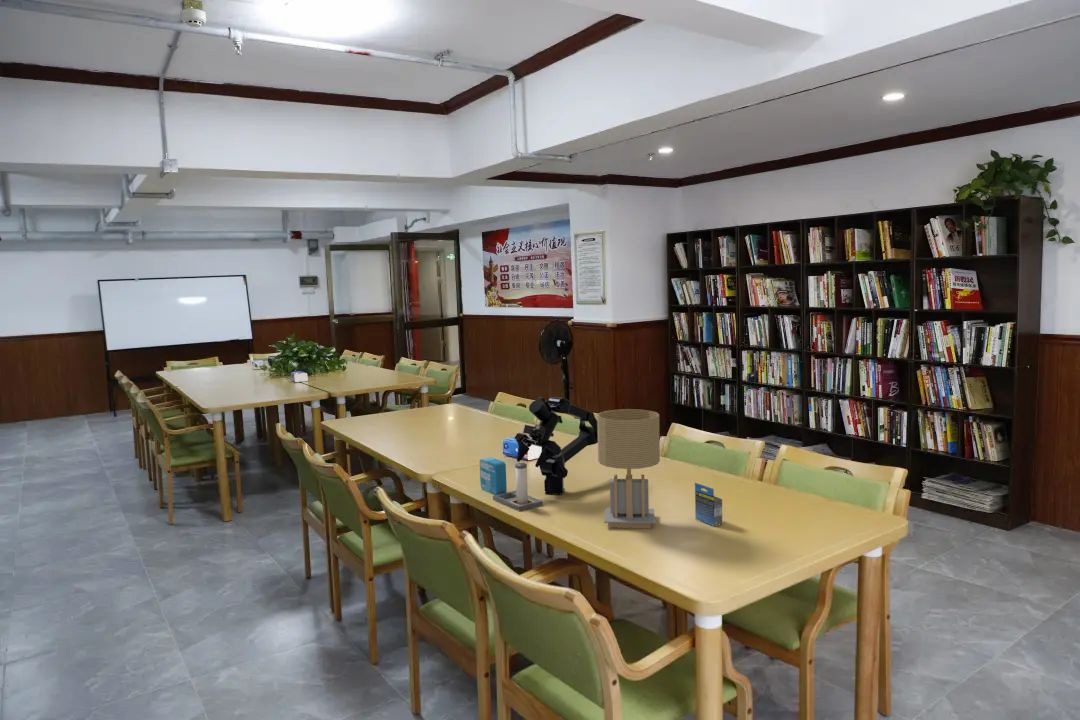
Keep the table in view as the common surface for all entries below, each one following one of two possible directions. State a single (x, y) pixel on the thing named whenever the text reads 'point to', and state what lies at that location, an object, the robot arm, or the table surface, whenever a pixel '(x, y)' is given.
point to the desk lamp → (628, 463)
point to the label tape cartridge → (707, 506)
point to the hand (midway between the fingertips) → (526, 464)
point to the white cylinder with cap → (521, 483)
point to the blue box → (493, 475)
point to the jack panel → (513, 502)
